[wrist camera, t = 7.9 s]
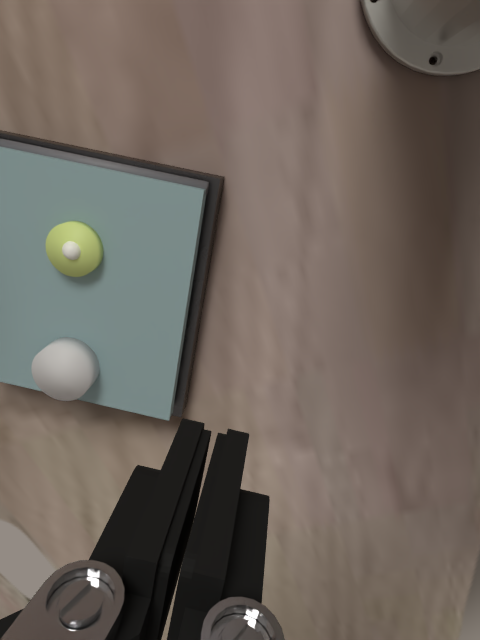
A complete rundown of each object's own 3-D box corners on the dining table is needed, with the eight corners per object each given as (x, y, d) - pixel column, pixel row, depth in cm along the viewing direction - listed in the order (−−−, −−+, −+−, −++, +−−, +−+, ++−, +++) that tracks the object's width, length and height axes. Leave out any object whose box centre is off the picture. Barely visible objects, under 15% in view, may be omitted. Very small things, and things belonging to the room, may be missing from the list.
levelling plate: (-22, 132, 33) (-59, 131, 30) (209, 181, 33) (199, 185, 29) (-15, 366, 41) (-43, 386, 37) (173, 409, 40) (162, 434, 37)
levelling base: (-12, 127, 35) (-29, 127, 34) (224, 176, 35) (220, 178, 33) (-6, 361, 43) (-20, 371, 41) (186, 405, 43) (181, 417, 41)
